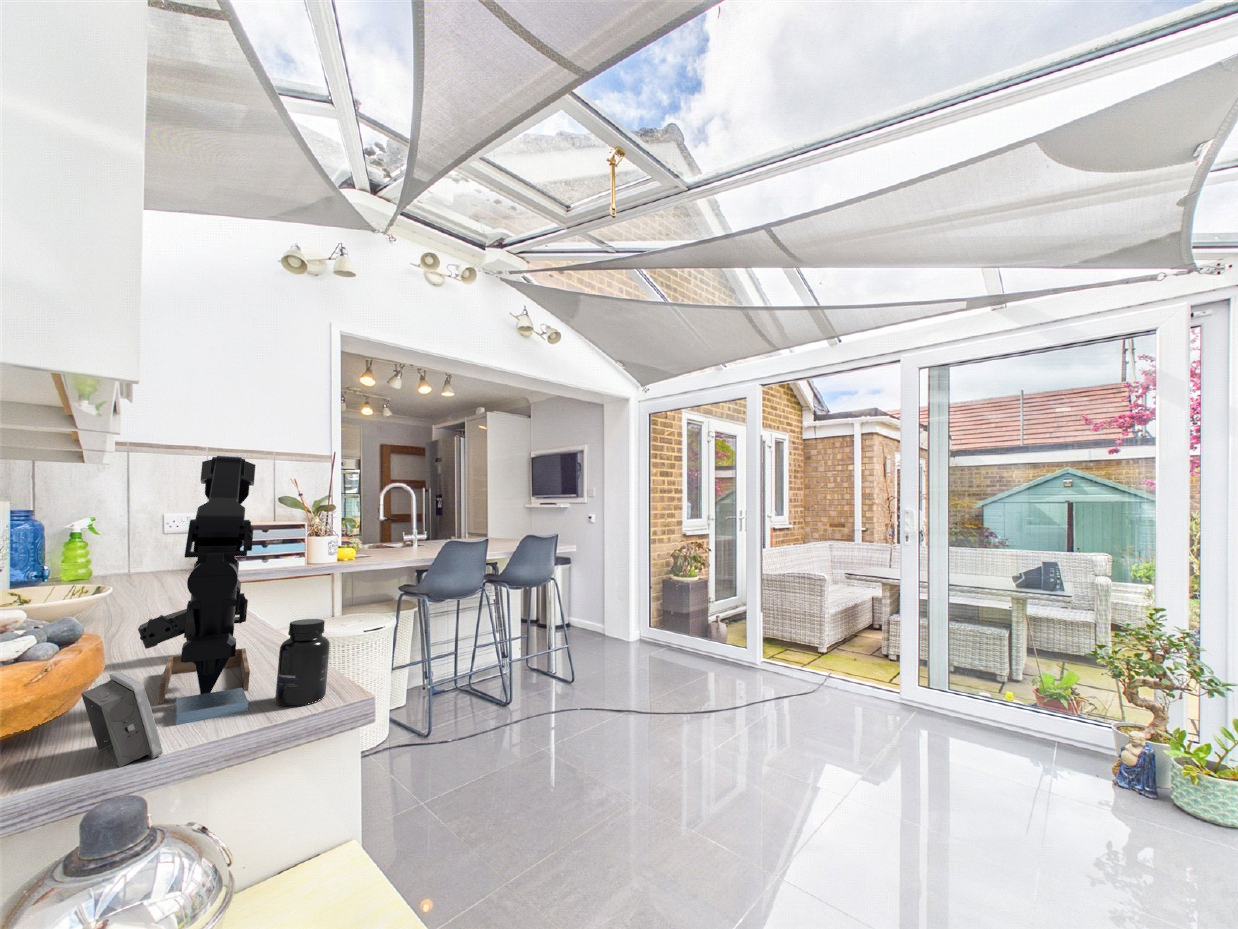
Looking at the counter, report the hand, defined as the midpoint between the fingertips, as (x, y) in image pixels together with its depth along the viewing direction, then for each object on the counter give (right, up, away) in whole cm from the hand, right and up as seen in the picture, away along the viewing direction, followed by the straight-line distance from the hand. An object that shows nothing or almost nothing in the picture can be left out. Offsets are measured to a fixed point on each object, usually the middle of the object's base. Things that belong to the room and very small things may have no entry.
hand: (205, 694), depth 82 cm
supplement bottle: (+15, -1, 0) cm, 15 cm away
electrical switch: (+5, +1, -19) cm, 20 cm away
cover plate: (+4, -1, -4) cm, 6 cm away
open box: (-6, -2, +8) cm, 11 cm away
